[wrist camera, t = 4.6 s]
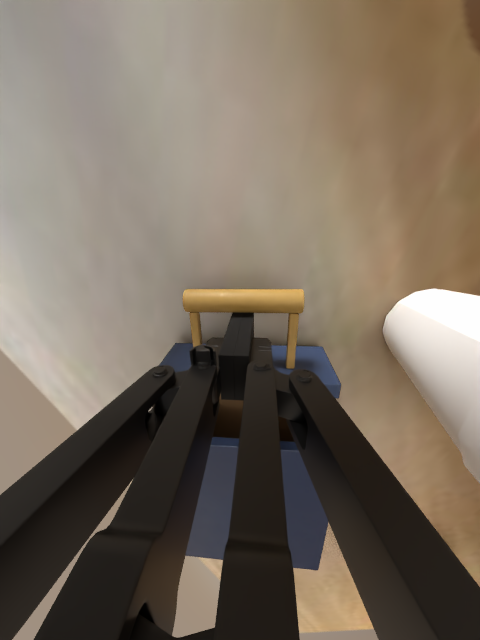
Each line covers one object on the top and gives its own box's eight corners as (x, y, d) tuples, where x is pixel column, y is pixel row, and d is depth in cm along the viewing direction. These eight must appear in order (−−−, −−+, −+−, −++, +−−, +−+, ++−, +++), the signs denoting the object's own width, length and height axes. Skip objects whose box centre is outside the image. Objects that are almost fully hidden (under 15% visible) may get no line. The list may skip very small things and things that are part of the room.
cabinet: (179, 383, 24) (148, 441, 18) (320, 388, 23) (343, 454, 16) (194, 484, 31) (176, 554, 24) (305, 493, 29) (318, 570, 23)
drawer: (166, 279, 19) (132, 297, 14) (331, 278, 18) (357, 298, 13) (192, 457, 27) (176, 508, 22) (306, 465, 26) (317, 521, 21)
